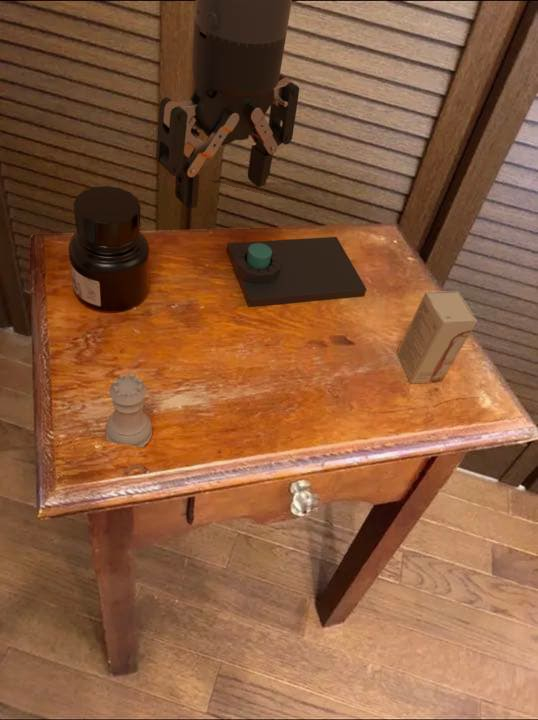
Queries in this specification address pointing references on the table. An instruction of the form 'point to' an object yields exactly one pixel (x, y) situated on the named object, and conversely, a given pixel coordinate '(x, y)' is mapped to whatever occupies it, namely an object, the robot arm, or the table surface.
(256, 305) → the black kitchen scale
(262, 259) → the button
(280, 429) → the table surface
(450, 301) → the beige upright block
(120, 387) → the rook chess piece
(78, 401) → the table surface
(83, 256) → the ink bottle
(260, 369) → the table surface
